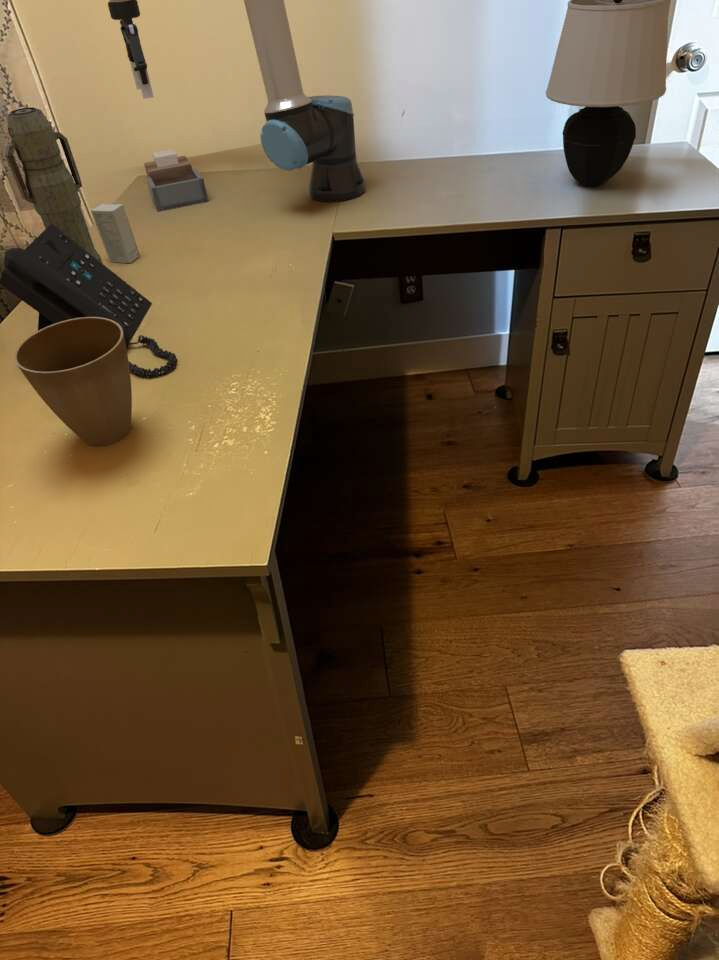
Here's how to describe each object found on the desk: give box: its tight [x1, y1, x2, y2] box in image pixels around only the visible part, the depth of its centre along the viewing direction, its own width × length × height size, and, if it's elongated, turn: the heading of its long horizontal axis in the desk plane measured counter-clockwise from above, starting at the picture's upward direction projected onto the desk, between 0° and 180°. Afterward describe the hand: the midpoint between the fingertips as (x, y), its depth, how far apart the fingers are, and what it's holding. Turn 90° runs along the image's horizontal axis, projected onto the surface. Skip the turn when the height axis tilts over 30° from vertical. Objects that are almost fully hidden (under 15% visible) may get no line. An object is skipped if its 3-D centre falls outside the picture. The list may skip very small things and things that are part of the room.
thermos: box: [4, 106, 104, 265], centre depth 133 cm, size 9×12×35 cm
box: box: [146, 167, 209, 212], centre depth 182 cm, size 11×14×6 cm
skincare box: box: [90, 203, 141, 264], centre depth 151 cm, size 6×4×12 cm
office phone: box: [0, 223, 179, 378], centre depth 119 cm, size 29×28×20 cm
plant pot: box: [13, 317, 133, 447], centre depth 98 cm, size 15×15×16 cm
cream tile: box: [151, 148, 179, 167], centre depth 188 cm, size 6×6×2 cm
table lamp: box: [545, 0, 670, 187], centre depth 156 cm, size 27×27×40 cm
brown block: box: [143, 155, 194, 187], centre depth 190 cm, size 10×12×7 cm
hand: (145, 93), depth 184 cm, fingers open, 13 cm apart
